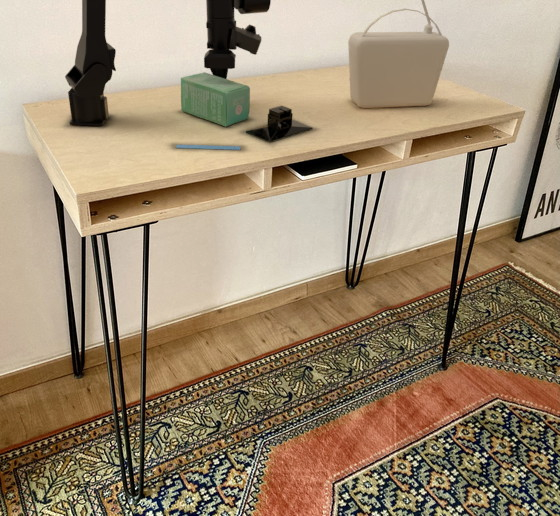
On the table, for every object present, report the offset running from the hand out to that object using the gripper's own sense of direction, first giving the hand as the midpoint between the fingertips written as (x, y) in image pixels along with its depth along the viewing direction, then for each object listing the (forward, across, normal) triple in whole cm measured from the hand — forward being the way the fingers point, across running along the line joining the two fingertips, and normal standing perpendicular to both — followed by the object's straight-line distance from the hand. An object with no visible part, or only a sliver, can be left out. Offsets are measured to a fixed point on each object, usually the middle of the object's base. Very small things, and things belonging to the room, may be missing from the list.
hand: (222, 90), depth 138 cm
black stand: (+3, -16, -12) cm, 20 cm away
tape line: (+3, -26, +2) cm, 26 cm away
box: (+3, -8, +1) cm, 9 cm away
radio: (+4, +5, -39) cm, 39 cm away
